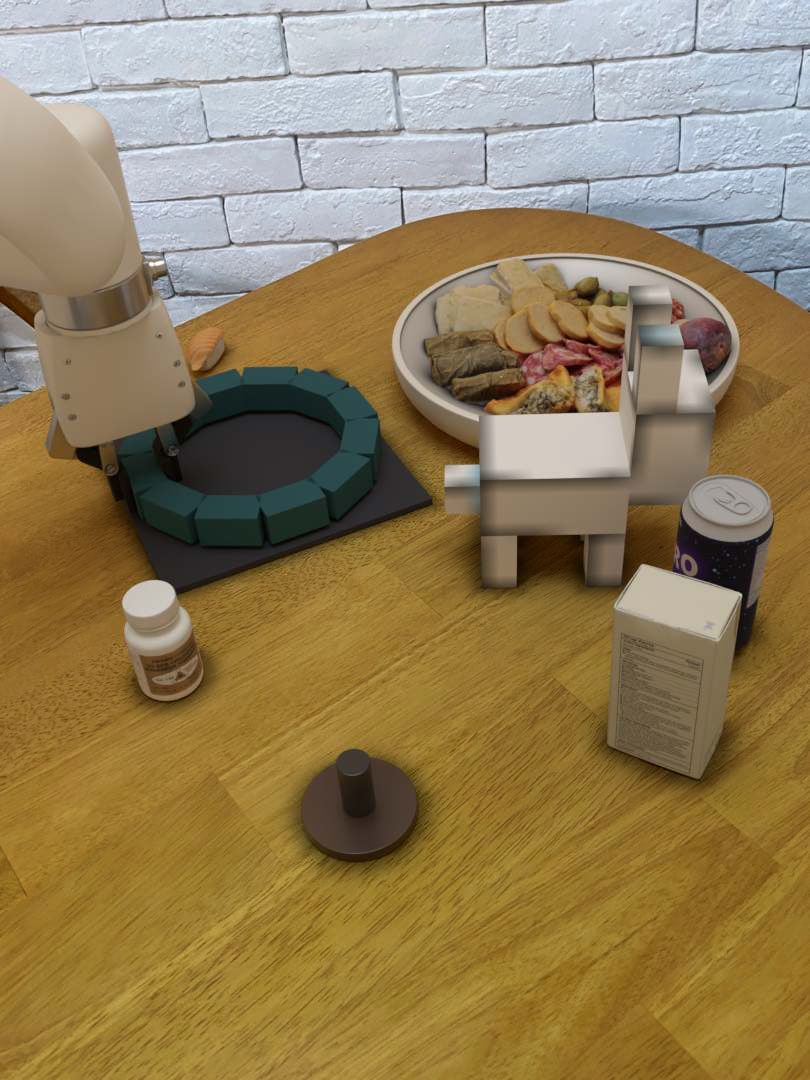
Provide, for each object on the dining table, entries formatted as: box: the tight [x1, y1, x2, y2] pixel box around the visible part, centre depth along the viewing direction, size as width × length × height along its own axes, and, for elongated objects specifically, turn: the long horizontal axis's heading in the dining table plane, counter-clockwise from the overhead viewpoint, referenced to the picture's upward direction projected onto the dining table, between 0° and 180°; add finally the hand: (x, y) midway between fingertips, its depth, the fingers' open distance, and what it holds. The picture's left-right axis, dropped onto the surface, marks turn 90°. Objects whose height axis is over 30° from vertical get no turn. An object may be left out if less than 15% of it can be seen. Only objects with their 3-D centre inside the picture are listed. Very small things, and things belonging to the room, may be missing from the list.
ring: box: [118, 365, 382, 546], centre depth 93 cm, size 21×21×3 cm
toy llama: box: [444, 285, 717, 589], centre depth 78 cm, size 8×18×20 cm, turn 88°
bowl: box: [391, 252, 741, 449], centre depth 99 cm, size 30×30×8 cm
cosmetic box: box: [606, 563, 742, 780], centre depth 67 cm, size 6×4×12 cm
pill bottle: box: [121, 579, 204, 702], centre depth 75 cm, size 4×4×8 cm
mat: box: [114, 369, 433, 595], centre depth 94 cm, size 22×22×1 cm
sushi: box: [187, 326, 226, 372], centre depth 107 cm, size 3×6×3 cm, turn 167°
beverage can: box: [671, 474, 775, 653], centre depth 73 cm, size 6×6×12 cm
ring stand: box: [300, 748, 419, 862], centre depth 67 cm, size 7×7×5 cm
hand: (149, 494), depth 91 cm, fingers closed on ring, 2 cm apart
